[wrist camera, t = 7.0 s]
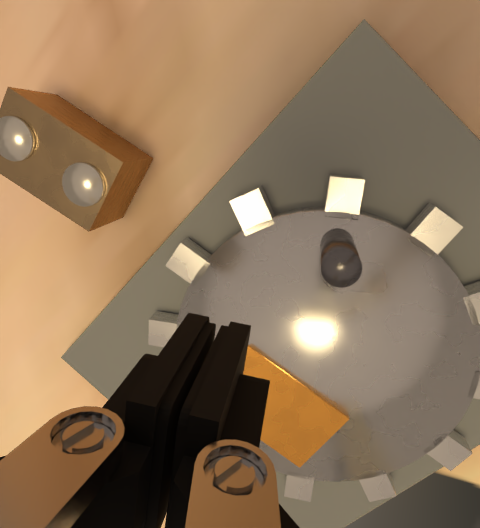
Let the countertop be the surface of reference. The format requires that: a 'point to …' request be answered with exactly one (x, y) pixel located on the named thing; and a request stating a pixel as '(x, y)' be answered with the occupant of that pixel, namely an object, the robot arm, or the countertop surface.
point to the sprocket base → (314, 195)
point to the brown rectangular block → (68, 158)
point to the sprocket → (342, 334)
